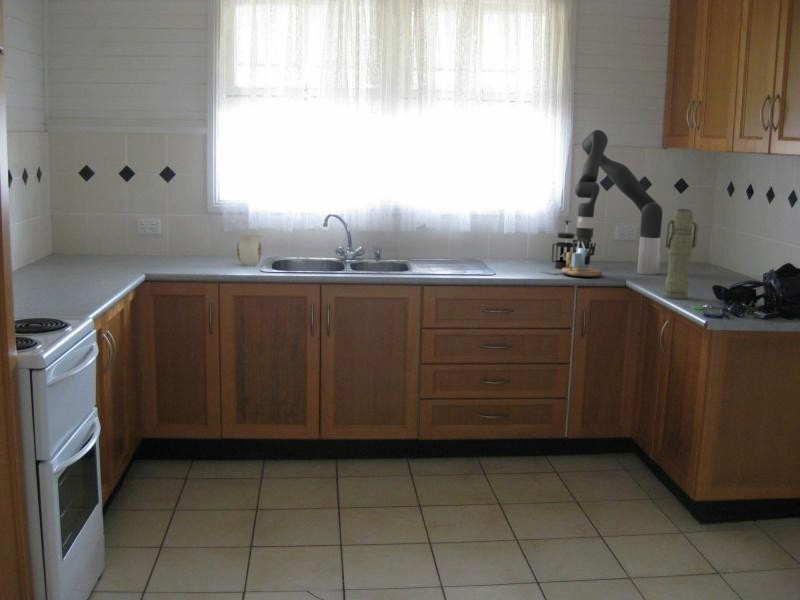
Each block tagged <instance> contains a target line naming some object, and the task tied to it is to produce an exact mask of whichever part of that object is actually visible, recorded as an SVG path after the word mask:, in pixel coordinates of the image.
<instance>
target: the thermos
mask: <svg viewBox="0 0 800 600" xmlns="http://www.w3.org/2000/svg"><path fill="white" fill-rule="evenodd" d="M670 225H671V229H672V230H671V235H670ZM693 225H694V227H693ZM698 230H699V225H698V224H697V223H696V222H695V221H694V216H693V212H692V210H690V209H687V208H686V209H685V208H684V209H683V208H678V209H675V211H674V213H673V215H672V220H669V221H668V222H667V223H666V228H665V237H664V247H665V248H668V250H667V252H668V265H667V276H666V278H665V285H664V298H666V299H672V300H687V299H688V293H689V285H690V281H689V272H690V270H689V269H690V259H691V256H692V253H693V252H692V250H693V249H695V248H696V247H697V241H698ZM692 231H693V238H692ZM669 235H670V236H669Z"/></svg>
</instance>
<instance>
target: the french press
mask: <svg viewBox="0 0 800 600" xmlns="http://www.w3.org/2000/svg"><path fill="white" fill-rule="evenodd" d="M563 222H565V225H566V230H565V231H562V232H556V234H557V238H558V239H563V240H564V239H565V240H568V239H569V240H570V239H572V240H574V239H575V238H576V232H571V231H570V232H569V231H568V225H569V223H571V222H572V220H567V219H566V220H563ZM551 247H552V248H551V263H554V267H555V268H554V267H553V268H554V269H556V268H558V269H557V270H562V268H565V267H566V259H564V258H566V257H567V252H571V248H573V242H568V241H565V242H556V243H552V246H551ZM558 248H560V250H559V253H558ZM572 253H574V252H573V251H572ZM554 254H555V255H554ZM554 256H555V257H554ZM558 257H559V259H558ZM554 258H555V259H554ZM571 262H572V261H571Z"/></svg>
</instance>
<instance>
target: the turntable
mask: <svg viewBox="0 0 800 600" xmlns="http://www.w3.org/2000/svg"><path fill="white" fill-rule="evenodd" d="M572 253H573V252H571V251H570V252H567V251H566V254H567V257H565V258H566V259H565V260H566V267H565V268H562V269H561V270H562V273H564V274H563V275H567V276H569V275H570V276H572V275H574V276H573V277H576V276H591V277H599V276H602V273H603V271H602V269H598V268H593V267H589V268H588V269H580V268H579V266H577V268H576V267H571V261H572Z"/></svg>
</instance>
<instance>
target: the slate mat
mask: <svg viewBox="0 0 800 600" xmlns="http://www.w3.org/2000/svg"><path fill="white" fill-rule="evenodd" d="M540 272H541V273H544V272H545V273H544V274H547V273H549V274H548V275H551V274H553V275H552V276H559V275H558V274H563V275H565V274H564V273H562V269H544V270H543V269H541V270H540Z"/></svg>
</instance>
